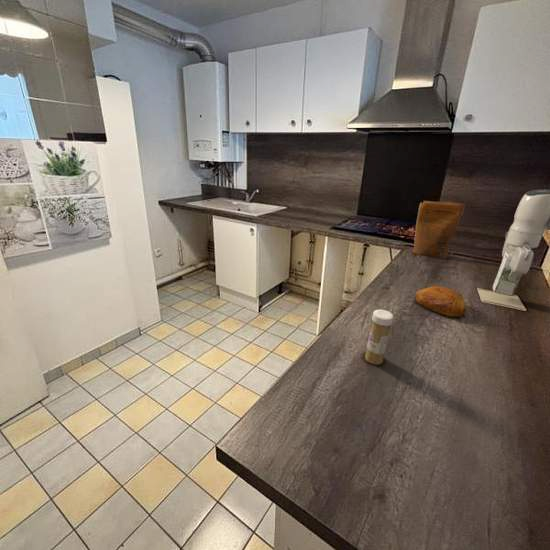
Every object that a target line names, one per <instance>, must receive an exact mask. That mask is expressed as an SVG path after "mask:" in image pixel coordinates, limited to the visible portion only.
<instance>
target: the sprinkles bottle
mask: <svg viewBox="0 0 550 550" xmlns="http://www.w3.org/2000/svg"><path fill="white" fill-rule="evenodd" d="M371 319H372V322H371V327H370V331H369V334H368V335H369V336H368V340H367V345H366V351H365V354H364V359H365V360H366V361H367V362H368V363H369V364H372V365H377V366H378V365H381V364H383V363H384V357H385V353H386V350H387V344H388V341H389V337H390V331H391V327H392V325H393V322H394V315H393V314H392V312H390V311H388V310H385V309H375V310H374V311H373V313H372V317H371Z"/></svg>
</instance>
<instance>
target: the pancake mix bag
mask: <svg viewBox="0 0 550 550" xmlns="http://www.w3.org/2000/svg"><path fill="white" fill-rule="evenodd" d="M465 207H466V204H464V203H461V202H451V201H434V200H433V201H432V200H423V201H422V202H420V203H419V206H418V211H417V216H416V224H415V233H414V243H413V249H412V251H411V252H412V253H414V254H416V255H418V256H423V257H428V258H429V257H430V258H435V259H439V260H441V259H443V260H445V259H447V258H448V250H449V247H450V244H452V239H453V236H454V234H455V232H456V230H457V228H458V226H459V223H460V220H461V217H462V216H463V213H464V210H465Z"/></svg>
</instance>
